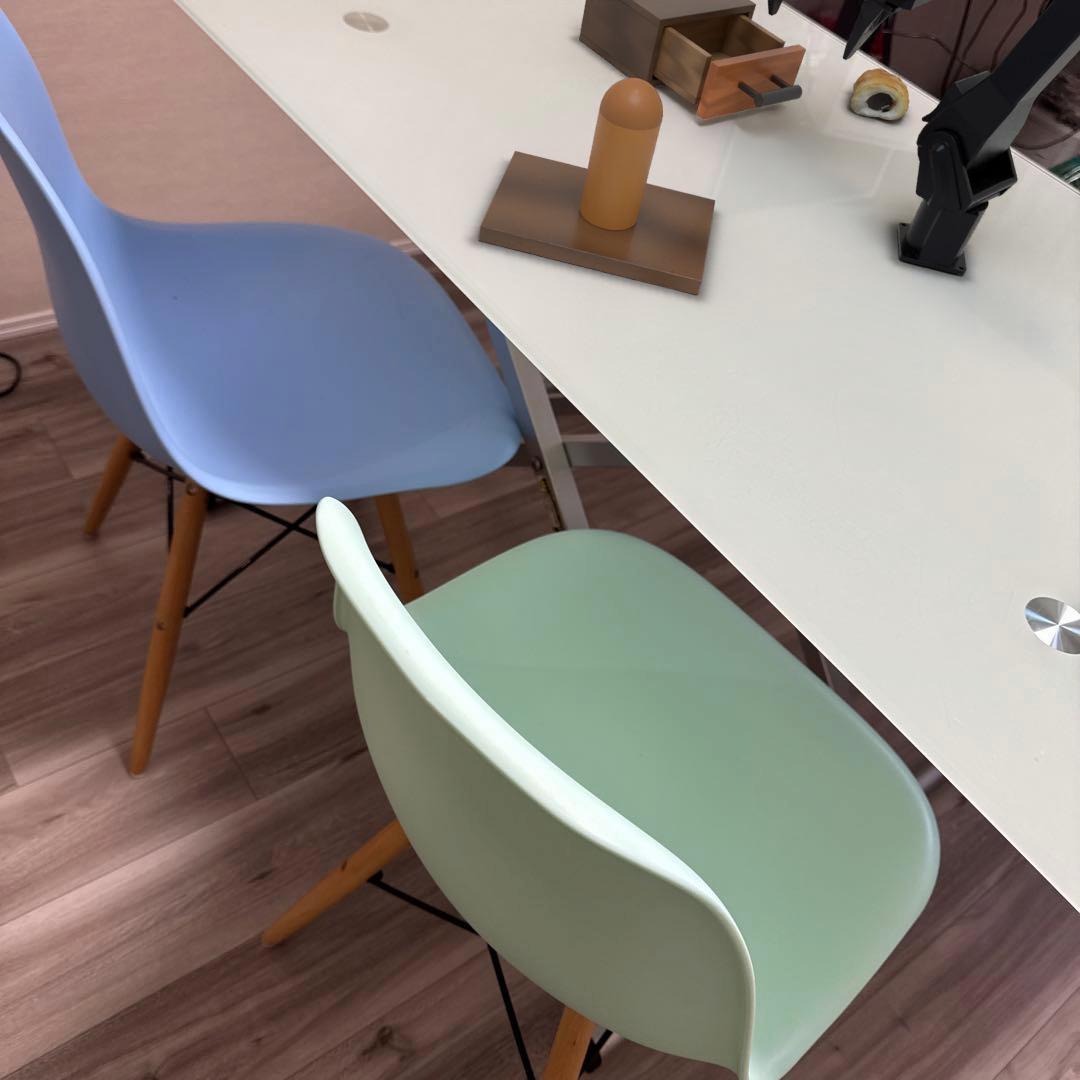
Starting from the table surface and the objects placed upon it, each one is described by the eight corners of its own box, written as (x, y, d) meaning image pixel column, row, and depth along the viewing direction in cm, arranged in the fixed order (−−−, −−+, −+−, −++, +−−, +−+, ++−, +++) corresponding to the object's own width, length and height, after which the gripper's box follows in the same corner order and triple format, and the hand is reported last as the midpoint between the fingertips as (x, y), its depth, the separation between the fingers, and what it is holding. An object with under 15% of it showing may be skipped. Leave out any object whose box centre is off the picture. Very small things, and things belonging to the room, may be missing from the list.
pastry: (850, 79, 120) (863, 48, 118) (904, 94, 120) (918, 63, 117) (846, 112, 114) (860, 80, 111) (902, 128, 114) (917, 96, 111)
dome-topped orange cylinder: (648, 217, 91) (682, 86, 81) (612, 237, 88) (643, 104, 78) (604, 191, 93) (632, 60, 83) (567, 209, 90) (592, 76, 80)
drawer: (814, 118, 110) (833, 66, 106) (728, 139, 104) (745, 85, 100) (722, 55, 117) (737, 4, 113) (637, 71, 111) (649, 18, 107)
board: (697, 295, 87) (702, 281, 85) (478, 240, 87) (480, 225, 86) (711, 213, 96) (715, 199, 95) (512, 164, 96) (514, 150, 95)
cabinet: (736, 70, 117) (756, 4, 112) (644, 89, 111) (660, 19, 105) (670, 24, 123) (685, -41, 117) (578, 39, 116) (590, -29, 111)
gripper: (1012, -111, 86) (924, 62, 99) (842, -196, 92) (779, -23, 104) (956, -91, 80) (870, 90, 93) (777, -184, 86) (718, -2, 98)
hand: (808, 36), depth 97 cm, fingers open, 9 cm apart
